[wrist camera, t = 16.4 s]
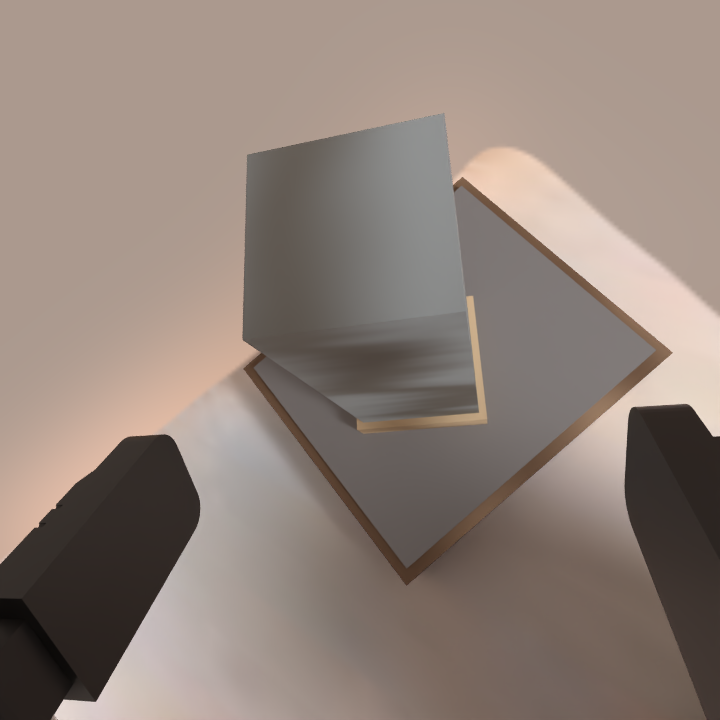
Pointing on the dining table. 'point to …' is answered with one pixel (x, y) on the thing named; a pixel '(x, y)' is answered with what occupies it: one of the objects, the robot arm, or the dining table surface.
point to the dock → (501, 389)
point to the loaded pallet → (365, 276)
